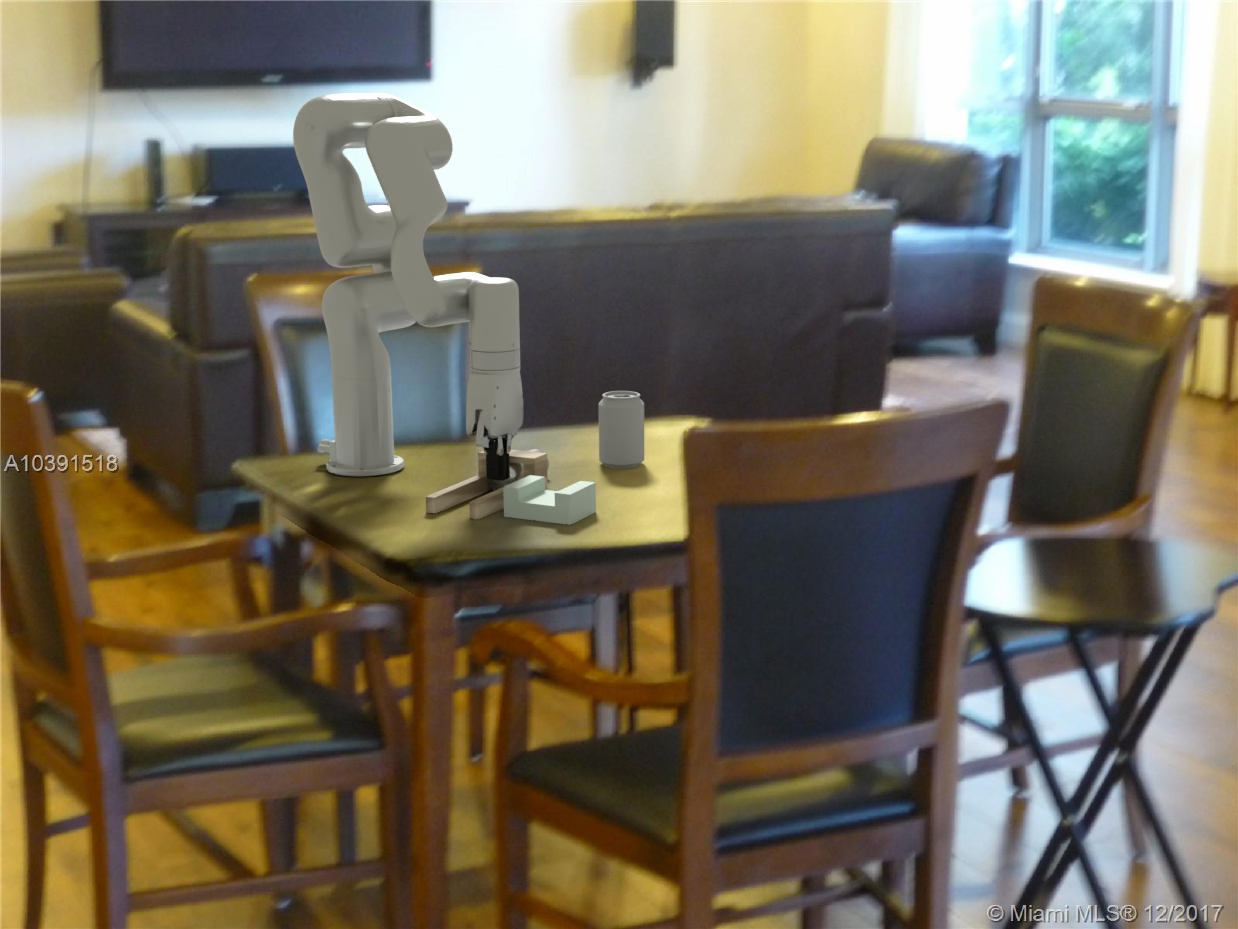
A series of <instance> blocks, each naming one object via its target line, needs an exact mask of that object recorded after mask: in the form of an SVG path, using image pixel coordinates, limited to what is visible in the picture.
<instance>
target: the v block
mask: <svg viewBox="0 0 1238 929" xmlns="http://www.w3.org/2000/svg"><path fill="white" fill-rule="evenodd" d="M596 484H597V483H596V482H595V481H585V480H578V481H577V482H574V483H573V484H570V485H568V486H566V487H564V488H562V489H559V490H549V489H548V490H545V477H542V476H533V475H529V476H527V477H525V478H522V479H520V480H518V481H516V482H513V483H511V484H509V485H506V486H504V487H503V496H504V508H503V517H504V518H510V517H511V519H512V518H513V519H518V520H519V519H520V520H528V521H534V520H535V521H536V522H541V523H543V522H544V523H551V524H559V525H561V524H562V525H566V524H567V526H572V525H573V524H575V523H577V522H580V521H581V520H583V519H586V518H587V517H589V516H591V515H593V514H595V513H596V512H597V506H596V505H597V502H596V500H597V498H596V496H597V494H596V490H597V489H596V486H597V485H596ZM571 524H572V525H571Z"/></svg>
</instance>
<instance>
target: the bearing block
mask: <svg viewBox="0 0 1238 929" xmlns="http://www.w3.org/2000/svg"><path fill="white" fill-rule="evenodd" d="M547 458H548V453H547V452H544V453H540V452H531V451H530V450H518V449H511V451H510V453H509V462H512V463H521V464H523V478H525V477H527V476H529V475H533V476H542V477H545V490H549V489H548V487H549V486H548V485H549V483H548V470H547ZM477 465H478V466H477V467H478V468H477V469H478V474H477V475H475V476H472V477H469V478H467V479H465V480H463V481H460V482H457V483H456V484H453V485H450V486H448V487H446V488H443V489H440V490H439V491H436V492H434V493H430V494H428V495H426V496H425V514H429V513H436V514H438V512H439V513H441V512H443V511H446V510H448V509H450V508H452V507H455V506H456V505H459V504H461V503H463V502H466V501H468V500H470V499H473V498H475V499H473V500H471V501H468V502H469V504H468V505H469V519H470V518H474V519H473V520H477V519H479V520H481V519H483V518H482V517H484V518H485V517H487V516H490V515H492V514H494V513H497V512H499V511H501V510H504V496H503V487H502V488H500V489H498V490H496V491H495V490H493V489H492V488H491V486H490V485H489V482H488V479H487V476H486V454H484V449H483V450H481V451H479V452H477ZM491 490H493V491H491ZM489 491H491V492H489ZM486 492H489V493H486ZM485 493H486V494H485ZM482 494H485V495H482ZM480 495H482V496H480ZM478 496H479V497H478ZM476 497H477V498H476ZM442 510H443V511H442ZM440 511H441V512H440ZM480 518H481V519H480Z"/></svg>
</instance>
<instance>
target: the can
mask: <svg viewBox="0 0 1238 929" xmlns="http://www.w3.org/2000/svg"><path fill="white" fill-rule="evenodd" d="M601 395H602V399H601V400H600V401H599V402H598V461H599V462H600V463H601V464H603V466H604V467H606V468H610V469H615V470H617V469H619V470H622V469H623V470H625V469H626V470H627V469H634V468H637V467H639V466H640V465H641V464H642V463H643V462H644V461H645V403H644V401H643V400H642V399H641V398H640V397H641V394H640V393H639V392H636V391H630V390H615V391H614V390H612V391H607V392H604V393H603V394H601Z"/></svg>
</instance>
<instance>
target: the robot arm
mask: <svg viewBox="0 0 1238 929" xmlns="http://www.w3.org/2000/svg"><path fill="white" fill-rule="evenodd" d="M292 133H293V134H292V136H293V137H292V138H293V141H292V142H293V147H294V151H295V156H296V158H297V161H298V164H299V166H300V169H301V172H302V174H303V177H304V181H305V183H306V188H307V191H308V196H309V197H308V198H309V204H310V208H311V212H312V217H313V222H314V228H315V232H316V238H317V241H318V245H319V249H320V253H321V255H322V258H323V259H324V261H325V262H326V263H327V264H328V265H330V266H331V267H335V268H340V269H341V268H342V269H345V268H349V269H350V268H357V267H359V268H360V267H366V266H372V270H373V272H371V273H364V274H355V275H350V276H345V277H342V278H340V279H338V280H335V281H334V282H332V283H331V284H330V285H329V286H328V287H327V288H326V289H325V291H324V293H323V295H322V296H323V297H322V300H321V309H322V310H321V312H322V317H323V322H324V324H325V328H326V334H327V339H328V345H329V353H330V365H331V366H330V368H331V370H330V371H331V382H332V383H331V384H332V387H331V388H332V401H333V402H332V407H333V408H332V410H333V430H334V439H326V438H322V439H321V440H319V441H320V442H319V444H318V445H317V452H318V453H320V454H321V453H322V454H329V460H328V461H327V462H326V470H327V471H328V472H329V473H331V474H333V473H334V475H339V476H345V477H373V476H374V477H375V476H382V475H388V474H392V473H396V472H399V471H400V470H403V468H404V466H405V460H404V458H402V457H401V456H399V455H395V445H394V444H395V443H394V442H395V441H394V419H393V415H394V413H393V412H394V411H393V389H392V368H391V367H392V366H391V359H390V355H389V353H388V350H387V348H386V346H385V344H384V342H383V340H382V339H381V336H380V334H379V333H383V332H388V331H393V330H400V329H404V328H408V327H410V326H412V325H414V324H418V325H421V326H423V327H427V328H435V327H436V328H437V327H443V326H449V325H455V324H462V323H463V324H464V323H468V322H469V324H468V325H469V354H470V355H469V356H470V357H469V358H470V360H469V361H470V372H469V375H468V376H469V377H468V380H467V381H468V382H467V391H466V403H465V404H466V406H465V407H466V409H465V428H466V429H465V430H466V434H467V435H468V436H469V437H475V446H476V447H478V448H479V447H480V448H482V449H483V450H484V454H486V476H487V479H491V480H499V481H504V480H506V479H508V478H510V464H509V453H510V451H511V450H512V440H513V439H514V438H515V437H516V436H517V435H518V433H519V429H520V428H521V427H522V426H523V423H524V397H523V386H522V384H523V383H522V377H521V372H520V371H521V340H520V339H521V338H520V336H521V335H520V333H521V332H520V331H521V330H520V326H521V325H520V291H519V289H520V288H519V285H518V283H517V282H516V281H515V280H514V279H512V278H509V277H502V276H501V277H500V276H499V277H498V276H497V277H495V276H493V277H490V276H488V275H484V274H481V273H478V272H473V271H471V272H470V271H465V272H458V273H447V274H442V275H441V274H440V275H433V274H432V272H431V270H430V267H429V265H428V262H427V259H426V257H425V253H424V239H425V238H424V237H425V233H426V231H427V230H428V228H429V227H430V226H431V225H433V224H435V223H436V222H438V221H439V220H440V219H442V217H443V216H444V215H445V213H446V212H447V210H448V206H449V205H448V200H447V198H446V195H445V193H444V191H443V188H442V186H441V184H440V181H439V179H438V177H437V174H436V172H435V170H439V169H443V167H445V166H446V165H448V163H449V161H450V160H451V157H452V155H453V151H454V150H453V148H454V147H453V140H452V136H451V134H450V131H449V129H448V128H447V127H446V125H445V124H444V123H443V122H442V121H441V120H440V119H439V118H437V116H435V115H432V114H431V113H429V112H427V111H425V110H424V109H422V108H419V107H417V106H415V105H412V104H411V103H409V102H407V101H405V100H403V99H401V98H399V97H397V96H394V95H391V94H387V93H382V92H381V93H379V92H373V93H372V92H370V93H369V92H368V93H367V92H366V93H333V94H331V93H330V94H324V95H320V96H317V97H314V98H312V99H310V100H309V101H306V103H304V105H302V107H301V108H300V109H299V111H298V112H297V115H296V116H295V120H294V124H293V132H292ZM363 148H364V149H365V150H366V154H367V157H368V158H369V162H370V163H371V166H372V168H373V171H374V173H375V176H376V178H377V181H378V183H379V185H380V188H381V190H382V192H383V196H384V197H385V199H386V202H387V204H388V205H384V204H374V205H367V202H366V200H365V195H364V192H363V191H364V190H363V187H362V181H361V178H360V176H359V173H358V172H357V170H356V169H355V166H354V165H353V164H352V162H351V161H350V160H349V159H348V157H346V156H345V154H343V152H344V150H346V149H363Z"/></svg>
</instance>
